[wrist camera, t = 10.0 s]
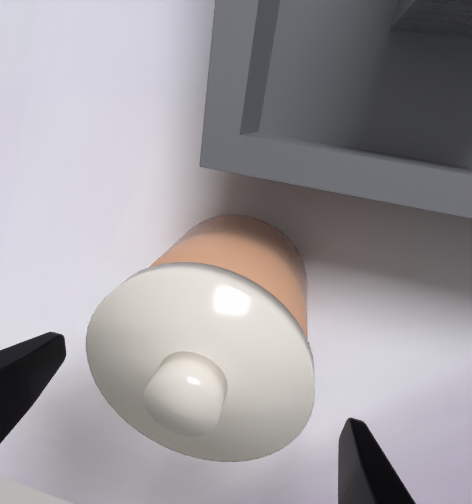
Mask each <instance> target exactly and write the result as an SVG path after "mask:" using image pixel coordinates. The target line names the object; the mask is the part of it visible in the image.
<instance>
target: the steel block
mask: <svg viewBox="0 0 472 504" xmlns="http://www.w3.org/2000/svg"><path fill="white" fill-rule="evenodd" d="M390 30H395V31H403V32H411V33H420V34H428V35H436V36H444V37H453V38H461V39H469V40H472V0H398V3H397V7H396V10H395V13H394V17H393V20H392V23H391V27H390Z"/></svg>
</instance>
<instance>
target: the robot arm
mask: <svg viewBox="0 0 472 504" xmlns="http://www.w3.org/2000/svg"><path fill="white" fill-rule="evenodd" d="M65 357H66V347H65V338H64V336H63V335H62V334H59V333H55V332H48V333H45V334H43V335H40V336H37V337H35V338H32V339H29V340H27V341H24V342H21V343H19V344H16V345H13V346H11V347H8V348H6V349H3V350H0V443H1V442H2V441H3V440H4V438H5V437H6V436H7V435H8V434H9V433H10V431H11V430H12V429H13V428H14V427H15V425H16V424H17V423H18V422H19V421H20V420H21V418H22V417H23V416H24V415H25V414H26V413H27V411H28V410H29V409H30V408H31V406H32V405H33V404H34V402H35V401H36V400H37V398H38V397H39V396H40V394H41V393H42V391H43V390H44V389H45V387H46V386H47V384H48V383H49V382H50V380H51V379H52V377H53V376H54V374H55V373H56V372H57V370H58V369H59V367H60V366H61V365H62V363H63V362H64V360H65ZM338 504H416V503H415V502H414V500H413V499H412V497H411V496H410V494H409V492H408V491H407V489H406V488H405V486H404V484H403V483H402V481H401V480H400V478H399V476H398V475H397V473H396V472H395V470H394V468H393V467H392V465H391V464H390V462H389V460H388V459H387V457H386V456H385V454H384V452H383V451H382V449H381V448H380V446H379V444H378V443H377V441H376V440H375V438H374V436H373V435H372V433H371V432H370V430H369V428H368V427H367V425H366V424H365V423H364V422H363V421H361V420H358V419H354V418H348V419H347V421H346V423H345V425H344V428H343V430H342V432H341V435H340V438H339V454H338Z"/></svg>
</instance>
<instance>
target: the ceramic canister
mask: <svg viewBox="0 0 472 504" xmlns="http://www.w3.org/2000/svg"><path fill="white" fill-rule="evenodd" d="M86 353H87V360H88V364H89V367H90V371H91V373H92V376H93V378H94V380H95V383H96V385H97V386H98V388H99V390H100V391H101V393H102V395H103V396H104V397H105V399H106V400H107V402H108V403H109V404H110V405H111V407H112V408H113V409H114V410H115V411H116V412H117V413H118V414H119V415H120V416H121V417H122V418H123V419H124V420H125V421H126V422H127V423H128V424H130V425H131V426H132V427H133V428H135V429H136V430H137V431H139V432H140V433H142V434H143V435H145V436H146V437H148V438H149V439H151V440H153V441H155V442H156V443H158V444H160V445H162V446H164V447H166V448H169V449H171V450H173V451H176V452H179V453H181V454H184V455H188V456H191V457H195V458H199V459H205V460H210V461H220V462H238V461H248V460H253V459H258V458H261V457H264V456H267V455H270V454H273V453H275V452H277V451H279V450H281V449H282V448H284V447H285V446H287V445H288V444H290V443H291V442H292V441H293V440H294V439H295V438H296V437H297V436H298V435H299V434H300V433H301V431H302V430H303V429H304V427H305V426H306V424H307V422H308V420H309V418H310V416H311V413H312V409H313V405H314V395H315V379H314V363H313V356H312V352H311V348H310V345H309V342H308V340H307V274H306V270H305V266H304V263H303V261H302V258H301V256H300V254H299V253H298V251H297V249H296V248H295V247H294V245H293V244H292V243H291V241H290V240H289V239H288V238H287V237H286V236H285V235H284V234H282V233H281V232H280V231H278V230H277V229H276V228H274V227H272V226H271V225H269V224H267V223H265V222H262V221H260V220H258V219H254V218H251V217H246V216H239V215H225V216H218V217H214V218H210V219H208V220H205V221H203V222H201V223H199V224H198V225H196V226H194V227H193V228H192V229H191V230H189V231H188V232H187V233H186V234H185V235H184V236H183V237H182V238H181V239H179V240H178V241H177V242H176V243H175V244H174V245H173V246H172V247H171V248H170V249H168V250H167V251H166V252H165V253H164V254H163V255H162V256H161V257H160V258H159V259H157V260H156V261H155V262H154V263H153V264H152V265H151V266H150V267H149V268H146V269H144V270H141V271H139V272H137V273H136V274H134V275H132V276H130V277H129V278H128V279H126V280H125V281H124V282H123V283H122V284H120V285H119V286H118V287H117V288H116V289H115V290H113V291H112V292H111V293H110V294H109V295H108V296H107V297H105V298H104V300H103V301H102V302H101V303H100V304H99V305H98V307H97V308H96V310H95V312H94V313H93V315H92V317H91V320H90V323H89V325H88V329H87V335H86Z"/></svg>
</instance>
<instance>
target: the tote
mask: <svg viewBox="0 0 472 504" xmlns="http://www.w3.org/2000/svg"><path fill="white" fill-rule="evenodd" d="M397 3H398V0H215V10H214V21H213V31H212V42H211V52H210V63H209V73H208V84H207V94H206V105H205V115H204V126H203V136H202V147H201V157H200V167H204V168H209V169H215V170H220V171H225V172H230V173H236V174H241V175H246V176H251V177H257V178H262V179H267V180H272V181H278V182H283V183H288V184H293V185H299V186H304V187H309V188H314V189H320V190H325V191H330V192H335V193H340V194H346V195H351V196H356V197H361V198H367V199H372V200H377V201H382V202H388V203H393V204H398V205H403V206H409V207H414V208H419V209H424V210H430V211H435V212H440V213H445V214H451V215H456V216H461V217H466V218H472V40H469V39H461V38H453V37H444V36H436V35H428V34H420V33H411V32H403V31H395V30H390V27H391V23H392V20H393V17H394V13H395V10H396V7H397Z"/></svg>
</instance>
